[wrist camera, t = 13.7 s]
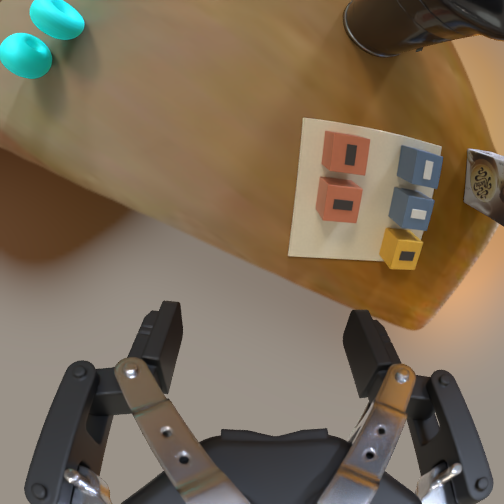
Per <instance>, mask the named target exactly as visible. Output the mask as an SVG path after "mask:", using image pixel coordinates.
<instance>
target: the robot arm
mask: <svg viewBox="0 0 504 504" xmlns="http://www.w3.org/2000/svg"><path fill="white" fill-rule="evenodd" d="M343 23H344V27H345V30H346V32H347V34H348V35H349V37H350V38H351V40H352V41H353V42H354V43H355V44H356V45H357V46H358V47H359V48H361V49H362V50H364V51H365V52H367V53H369V54H371V55H374V56H377V57H384V58H386V57H393V56H396V55H399V54H400V53H403V52H407V51H411V50H414V49H417V50H416V52H418V51H422V49H423V47H425V46H429V45H433V44H437V43H442V42H446V41H451V40H455V39H460V38H465V37H471V36H477V35H483V36H485V37H488V38H490V39H494V40H498V41H504V0H352V1H351V2H350V3H349V4H348V5H347V7H346V8H345V10H344V14H343ZM182 335H183V325H182V317H181V307H180V303H179V302H172V301H163V302H162V305H161V307H160V310H159V311H151V312H150V313H149V314H148V315H147V316H146V317H145V318H144V320H143V322H142V325H141V327H140V329H139V331H138V334H137V336H136V338H135V341H134V343H133V345H132V348H131V350H130V353H129V355H128V357H127V358H124V359H122V360H121V361H119V362H118V364H117V365H116V366H115V367H113V368H103V369H95V367H94V365H93V364H92V363H90V362H88V361H77V362H74V363H73V364H71V365H70V366H69V367H68V368H67V370H66V372H65V375H64V377H63V379H62V381H61V383H60V386H59V388H58V390H57V393H56V395H55V397H54V400H53V402H52V405H51V407H50V410H49V412H48V415H47V418H46V420H45V423H44V425H43V428H42V431H41V434H40V437H39V440H38V442H37V446H36V449H35V451H34V455H33V458H32V461H31V464H30V468H29V471H28V475H27V478H26V482H25V487H24V490H25V495H26V498H27V499H28V501H29V502H30V503H31V504H112V503H111V500H110V490H109V487H108V485H107V484H106V482H105V481H104V480H103V479H102V478H100V477H99V476H100V471H101V466H102V461H103V457H104V452H105V448H106V443H107V439H108V435H109V431H110V427H111V423H112V419H113V415H119V414H130V413H132V414H133V416H134V418H135V420H136V422H137V424H138V426H139V428H140V430H141V432H142V434H143V435H144V437H145V439H146V441H147V443H148V445H149V446H150V448H151V450H152V452H153V453H154V455H155V457H156V458H157V460H158V462H159V463H160V465H161V467H162V468H163V469H164V471H163V472H162V473H161V474H159V475H158V476H157V477H155V478H154V479H153V480H152V481H150V482H149V483H148V484H146V485H145V486H144V487H143V488H141V489H140V490H138V491H137V492H136V493H134V494H133V495H132V496H130V497H129V498H128V499H126V500H125V501H123V502H122V503H121V504H476V503H478V502H480V501H481V500H483V499H485V498H486V497H487V496H489V494H490V493H491V491H492V488H493V478H492V474H491V471H490V468H489V464H488V461H487V458H486V455H485V452H484V449H483V446H482V443H481V440H480V438H479V435H478V432H477V430H476V427H475V424H474V422H473V419H472V417H471V414H470V412H469V410H468V408H467V405H466V403H465V400H464V398H463V396H462V394H461V391H460V389H459V387H458V385H457V383H456V381H455V379H454V377H453V376H452V375H451V374H450V373H449V372H447V371H445V370H437V371H435V372H434V373H433V374H432V375H431V377H425V376H418V375H415V372H414V371H413V370H412V369H411V368H410V367H409V366H407V365H405V364H401V361H400V359H399V357H398V355H397V353H396V351H395V349H394V346H393V344H392V343H391V342H390V338H389V336H388V334H387V332H386V330H385V328H384V327H383V326H382V325H381V324H380V323H379V322H378V321H377V320H373V319H372V317H371V315H370V313H369V311H368V310H352V311H351V313H350V316H349V319H348V322H347V325H346V328H345V331H344V334H343V345H344V349H345V352H346V355H347V358H348V361H349V365H350V368H351V371H352V374H353V378H354V381H355V384H356V388H357V391H358V395H359V398H365V397H368V399H369V402H368V404H367V406H366V407H365V409H364V412H363V413H362V415H361V417H360V419H359V421H358V423H357V425H356V426H355V428H354V430H353V431H352V433H351V435H350V436H349V438H348V439H347V441H345V440H343V439H341V438H338V437H335V436H331V435H328V431H327V428H325V429H311V430H300V431H297V432H293V433H289V434H286V435H281V436H270V435H265V434H261V433H257V432H252V431H248V430H228V429H222V430H221V436H215V437H211V438H208V439H205V440H203V441H201V442H198V441H197V439H196V438H195V436H194V435H193V434H192V432H191V431H190V429H189V428H188V426H187V425H186V423H185V422H184V420H183V419H182V417H181V416H180V414H179V413H178V412H177V410H176V408H175V407H174V405H173V404H172V402H171V401H170V400H169V399H167V398H166V397H165V396H164V394H168V392H169V388H170V384H171V380H172V376H173V372H174V368H175V364H176V360H177V356H178V353H179V349H180V345H181V341H182ZM163 393H164V394H163ZM435 412H436V415H437V418H438V421H439V424H440V428H439V425H438V422H437V419H436V416H435ZM406 419H407V422H408V425H409V429H410V433H411V437H412V440H413V444H414V448H415V452H416V455H417V460H418V464H419V469H420V473H421V478H420V479H419V481H418V483H417V489H416V491H415V494H414V493H413V492H412V491H410V490H409V489H408V488H406V487H405V486H404V485H402V484H401V483H400V482H398V481H397V480H396V479H394V478H393V477H392V476H390V475H389V474H388V473H387V472H385V469H386V467H387V465H388V462H389V460H390V458H391V456H392V454H393V451H394V449H395V447H396V444H397V442H398V440H399V437H400V435H401V432H402V430H403V427H404V424H405V422H406Z"/></svg>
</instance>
